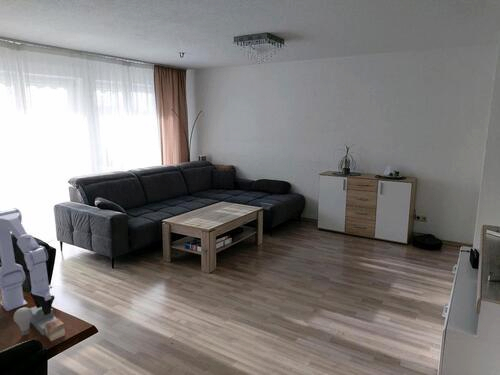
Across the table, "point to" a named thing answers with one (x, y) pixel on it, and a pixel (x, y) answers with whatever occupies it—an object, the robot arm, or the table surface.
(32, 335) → the table surface
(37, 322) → the steps
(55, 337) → the birch cube
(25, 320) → the lightbulb
